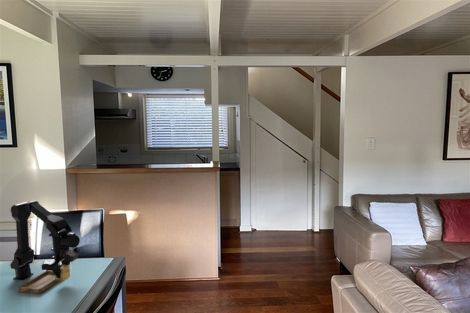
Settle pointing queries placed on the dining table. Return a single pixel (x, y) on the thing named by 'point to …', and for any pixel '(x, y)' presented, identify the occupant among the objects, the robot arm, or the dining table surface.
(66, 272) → the ochre block
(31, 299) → the dining table surface
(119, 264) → the dining table surface
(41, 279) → the walnut tray
